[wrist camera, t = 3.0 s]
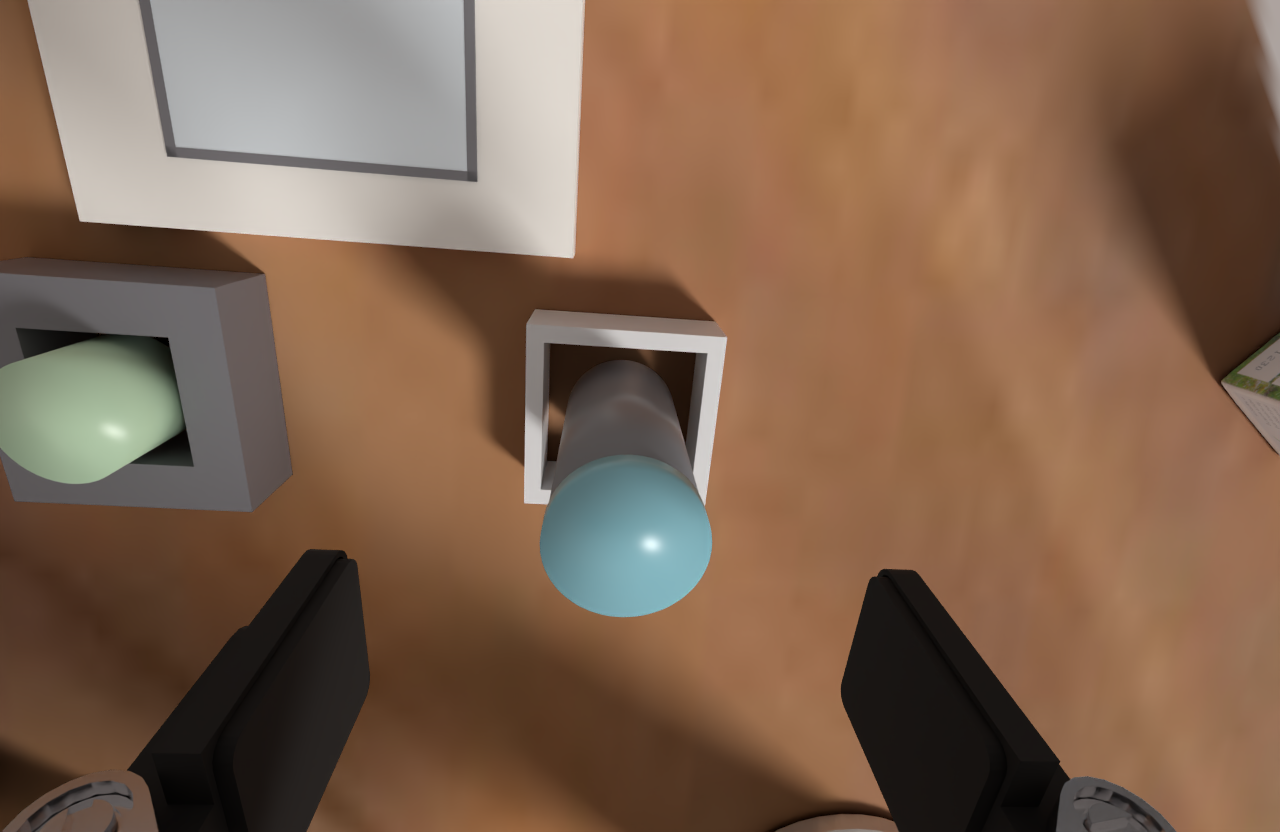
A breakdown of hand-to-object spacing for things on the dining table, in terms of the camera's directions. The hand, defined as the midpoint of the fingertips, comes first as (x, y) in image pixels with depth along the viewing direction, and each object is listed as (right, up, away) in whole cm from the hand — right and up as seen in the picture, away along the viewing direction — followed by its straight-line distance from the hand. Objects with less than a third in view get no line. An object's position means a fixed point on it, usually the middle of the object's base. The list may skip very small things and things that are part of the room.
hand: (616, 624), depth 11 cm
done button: (-17, +5, +10) cm, 21 cm away
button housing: (-17, +5, +12) cm, 22 cm away
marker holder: (0, +4, +13) cm, 14 cm away
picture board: (-9, +15, +9) cm, 20 cm away
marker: (0, +4, +13) cm, 14 cm away
